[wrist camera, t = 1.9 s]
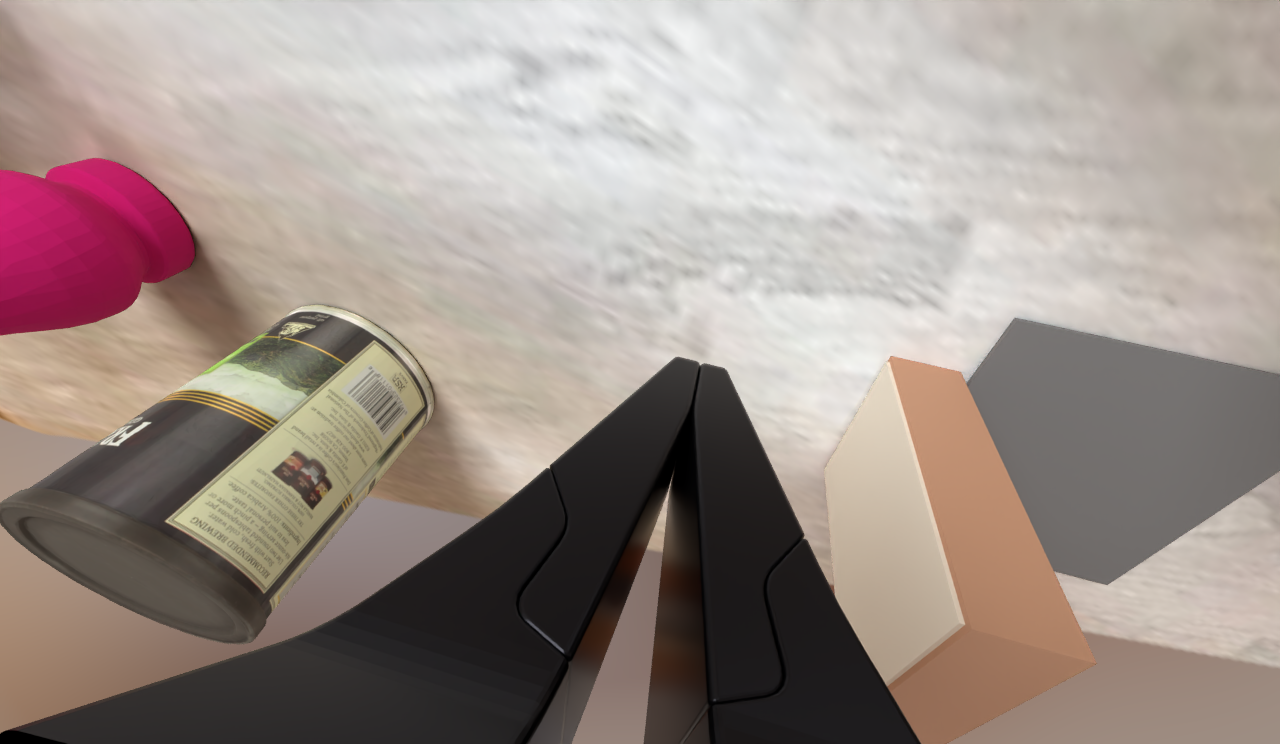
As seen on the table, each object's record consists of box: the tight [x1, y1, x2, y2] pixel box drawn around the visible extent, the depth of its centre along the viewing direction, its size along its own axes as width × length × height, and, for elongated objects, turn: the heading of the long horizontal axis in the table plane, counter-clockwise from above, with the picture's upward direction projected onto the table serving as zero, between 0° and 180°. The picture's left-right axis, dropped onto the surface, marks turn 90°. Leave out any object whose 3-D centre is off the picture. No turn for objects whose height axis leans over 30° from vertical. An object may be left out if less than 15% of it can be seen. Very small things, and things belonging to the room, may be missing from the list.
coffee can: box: [0, 305, 434, 644], centre depth 25 cm, size 10×10×14 cm
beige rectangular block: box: [824, 356, 1097, 744], centre depth 19 cm, size 3×8×12 cm, turn 173°
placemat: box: [967, 318, 1280, 585], centre depth 23 cm, size 13×14×1 cm
